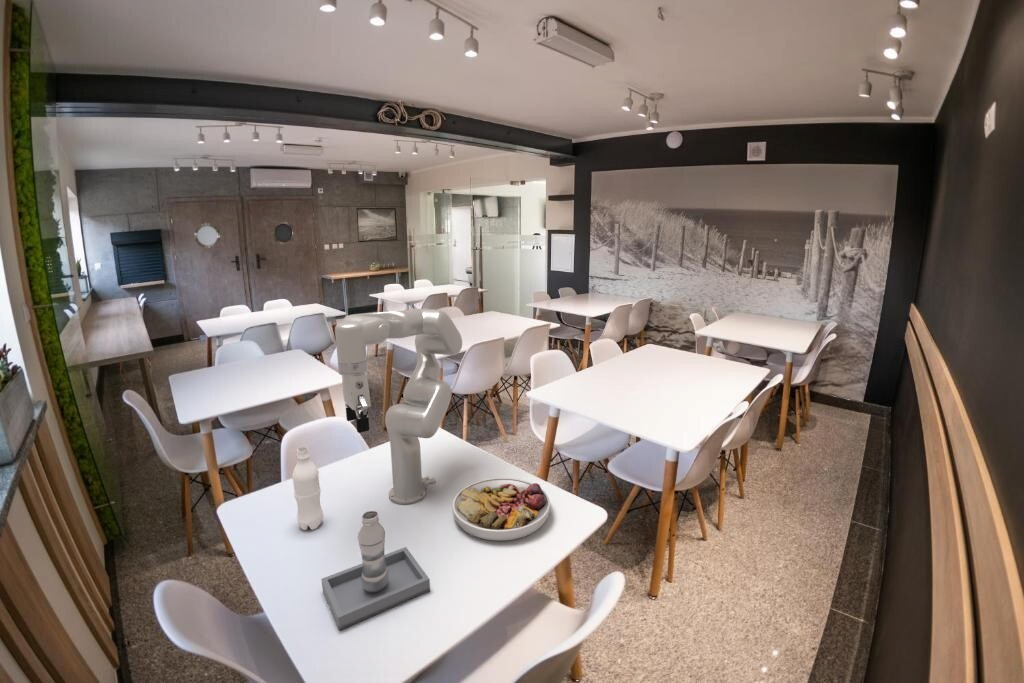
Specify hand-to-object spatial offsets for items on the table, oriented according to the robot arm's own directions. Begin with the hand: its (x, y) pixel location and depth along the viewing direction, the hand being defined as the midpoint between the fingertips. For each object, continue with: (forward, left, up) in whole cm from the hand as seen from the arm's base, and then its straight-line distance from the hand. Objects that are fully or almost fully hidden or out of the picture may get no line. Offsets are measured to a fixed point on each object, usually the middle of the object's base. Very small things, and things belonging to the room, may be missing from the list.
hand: (357, 425), depth 140 cm
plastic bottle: (+6, +26, -32) cm, 42 cm away
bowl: (-37, +16, -34) cm, 53 cm away
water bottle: (+13, -12, -34) cm, 38 cm away
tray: (+6, +26, -33) cm, 43 cm away
